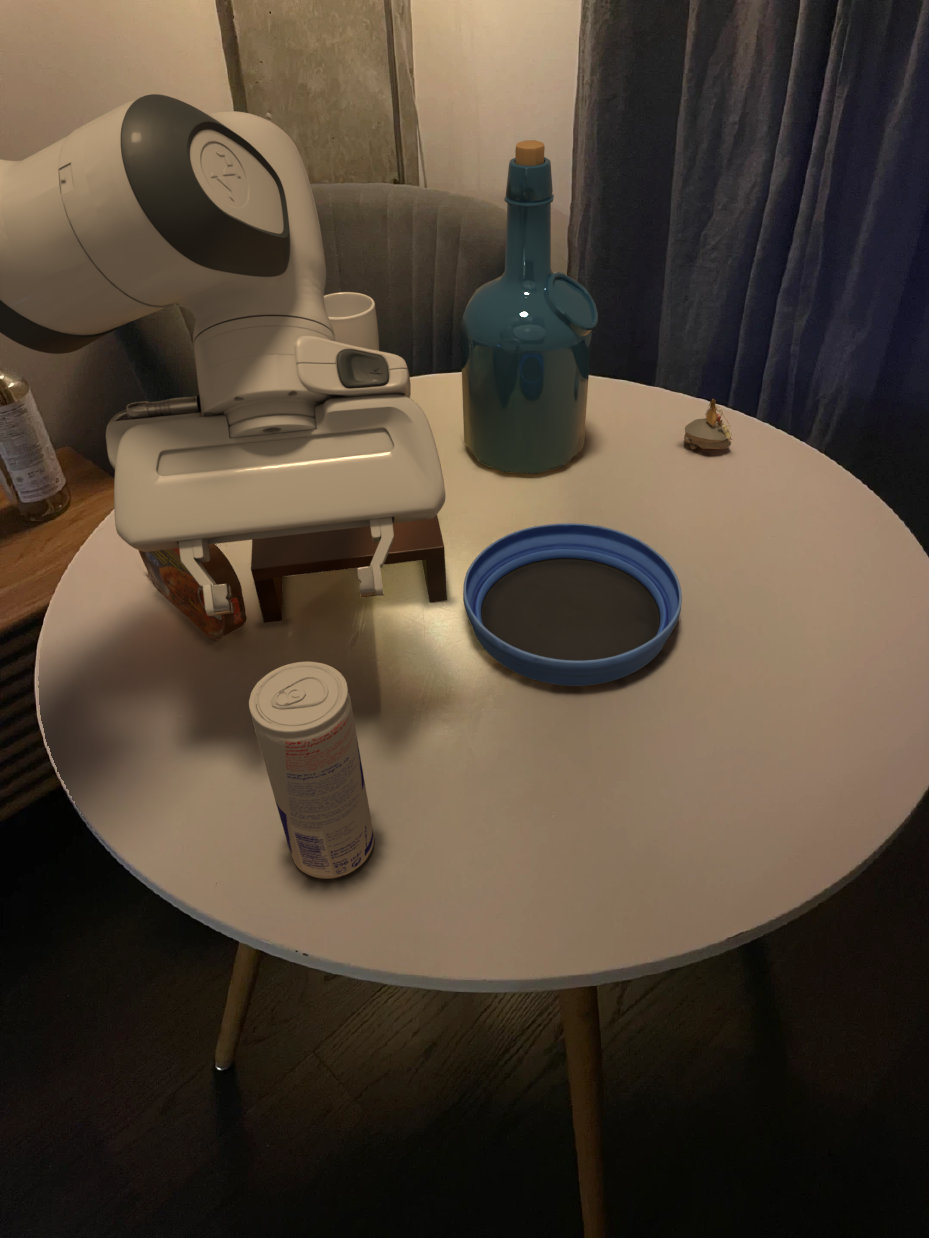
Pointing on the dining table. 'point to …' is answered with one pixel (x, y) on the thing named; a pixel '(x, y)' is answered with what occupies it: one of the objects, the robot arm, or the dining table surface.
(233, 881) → the dining table surface
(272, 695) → the beverage can
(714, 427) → the figurine
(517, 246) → the wine bottle
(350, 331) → the drinking glass
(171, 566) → the tin
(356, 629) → the dining table surface
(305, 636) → the dining table surface
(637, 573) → the bowl
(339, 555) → the shelf
